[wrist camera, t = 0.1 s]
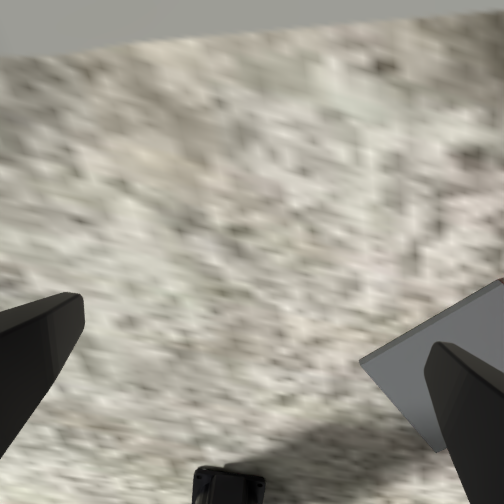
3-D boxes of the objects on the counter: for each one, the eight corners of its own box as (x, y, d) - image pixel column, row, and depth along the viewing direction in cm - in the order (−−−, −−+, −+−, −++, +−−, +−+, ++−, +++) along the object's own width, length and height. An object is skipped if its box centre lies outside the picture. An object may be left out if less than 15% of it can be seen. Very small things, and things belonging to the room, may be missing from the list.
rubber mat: (432, 446, 29) (435, 453, 29) (358, 360, 27) (360, 365, 26) (565, 383, 26) (572, 389, 26) (497, 279, 24) (502, 283, 23)
